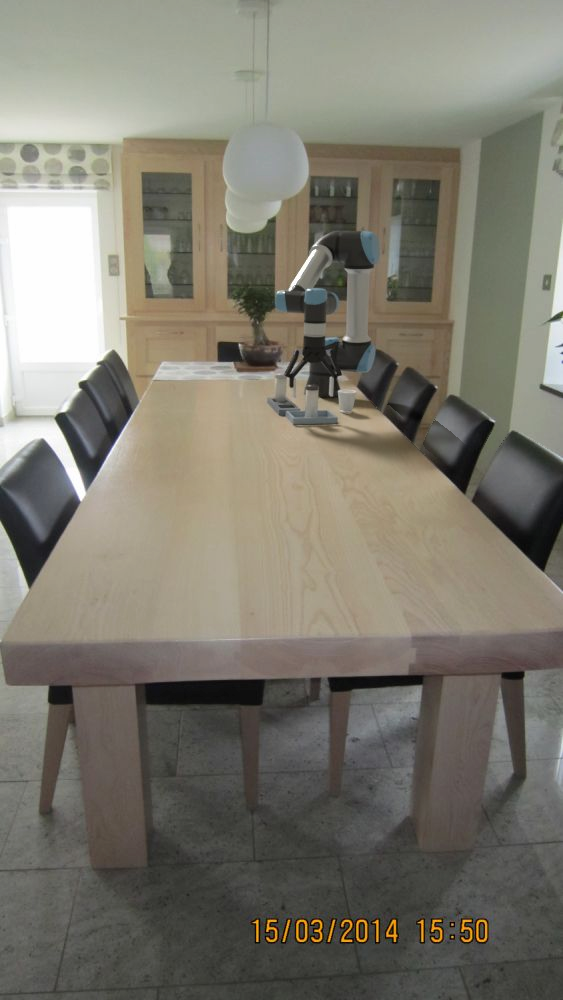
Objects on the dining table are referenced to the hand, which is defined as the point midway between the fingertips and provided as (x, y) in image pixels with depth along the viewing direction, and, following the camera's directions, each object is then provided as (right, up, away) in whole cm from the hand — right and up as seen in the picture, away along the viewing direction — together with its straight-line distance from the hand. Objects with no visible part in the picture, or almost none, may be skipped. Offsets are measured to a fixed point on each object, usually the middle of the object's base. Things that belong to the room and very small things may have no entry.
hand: (312, 396), depth 264 cm
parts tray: (0, -8, +3) cm, 9 cm away
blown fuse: (0, -8, +2) cm, 8 cm away
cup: (+13, -3, +19) cm, 23 cm away
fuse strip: (-10, -3, +19) cm, 22 cm away
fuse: (-11, 0, +24) cm, 26 cm away
